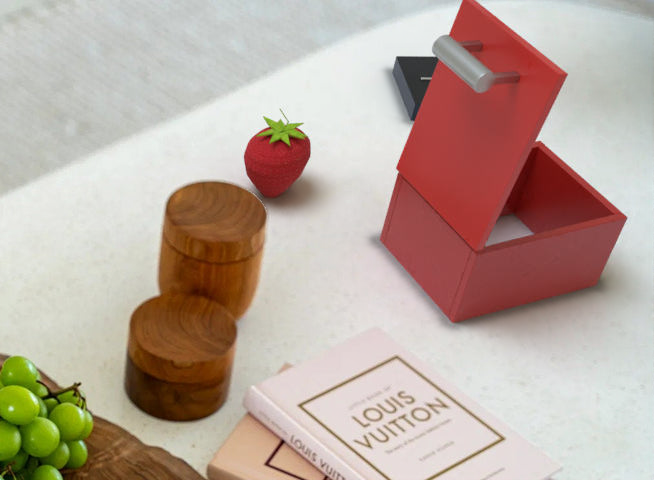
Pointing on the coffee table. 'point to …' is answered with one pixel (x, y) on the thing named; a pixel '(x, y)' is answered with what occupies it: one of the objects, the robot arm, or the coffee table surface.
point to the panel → (413, 80)
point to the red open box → (508, 242)
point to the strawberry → (276, 156)
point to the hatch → (478, 120)
